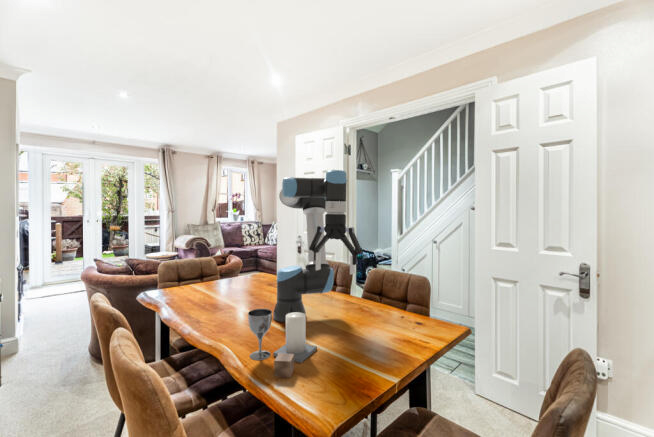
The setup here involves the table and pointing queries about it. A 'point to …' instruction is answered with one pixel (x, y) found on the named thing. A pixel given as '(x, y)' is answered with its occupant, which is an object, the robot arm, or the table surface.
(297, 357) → the coaster
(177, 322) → the table surface
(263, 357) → the wine glass
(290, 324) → the white pillar candle
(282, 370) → the walnut block
